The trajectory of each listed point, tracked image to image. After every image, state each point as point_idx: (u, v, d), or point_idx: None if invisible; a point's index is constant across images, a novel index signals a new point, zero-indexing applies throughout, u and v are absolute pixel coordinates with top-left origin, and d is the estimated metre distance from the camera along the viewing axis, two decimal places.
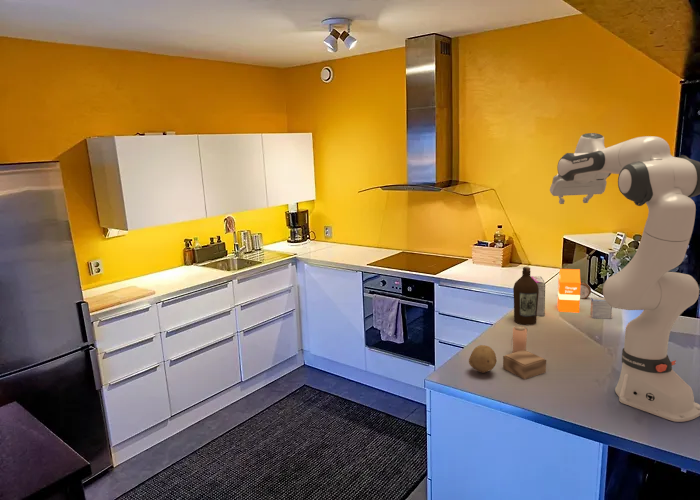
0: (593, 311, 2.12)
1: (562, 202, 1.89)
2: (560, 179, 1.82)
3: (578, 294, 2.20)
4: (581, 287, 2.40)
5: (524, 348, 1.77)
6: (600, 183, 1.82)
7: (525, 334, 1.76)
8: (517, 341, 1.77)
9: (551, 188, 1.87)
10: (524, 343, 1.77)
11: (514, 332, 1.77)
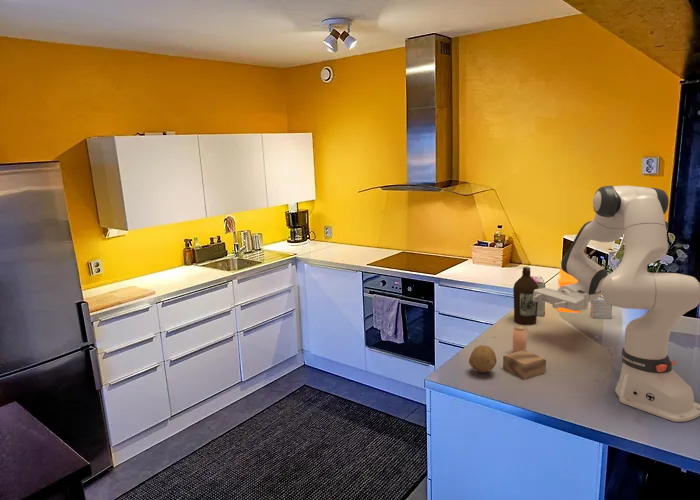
0: (593, 311, 2.12)
1: (535, 296, 1.86)
2: None
3: None
4: None
5: (524, 348, 1.77)
6: (578, 297, 1.79)
7: (525, 334, 1.76)
8: (517, 341, 1.77)
9: None
10: (524, 343, 1.77)
11: (514, 332, 1.77)
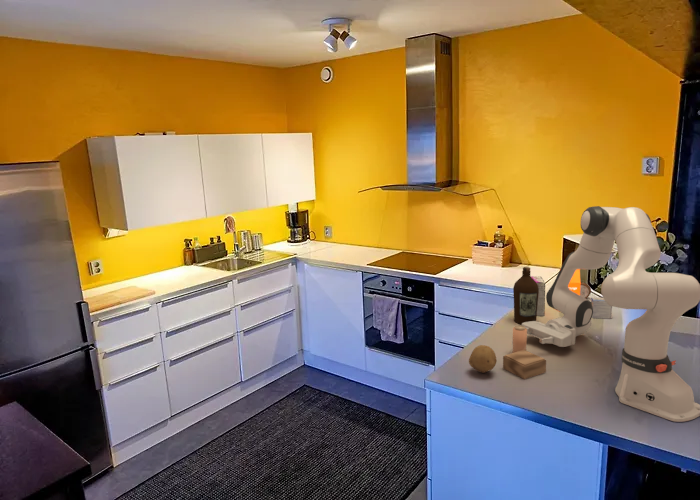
0: (593, 311, 2.12)
1: None
2: None
3: (578, 294, 2.20)
4: (581, 287, 2.40)
5: (524, 348, 1.77)
6: (565, 333, 1.79)
7: (525, 334, 1.76)
8: (517, 341, 1.77)
9: None
10: (524, 343, 1.77)
11: (514, 332, 1.77)
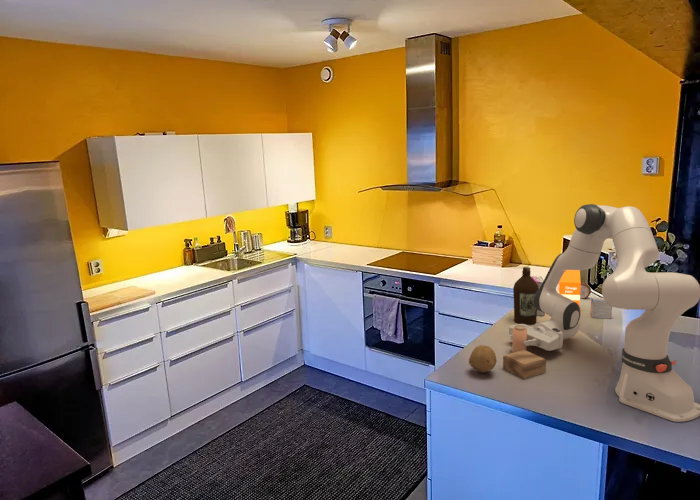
0: (593, 311, 2.12)
1: None
2: None
3: (578, 294, 2.20)
4: (581, 287, 2.40)
5: (524, 348, 1.77)
6: (553, 336, 1.76)
7: (525, 334, 1.76)
8: (517, 341, 1.77)
9: None
10: None
11: (514, 332, 1.77)
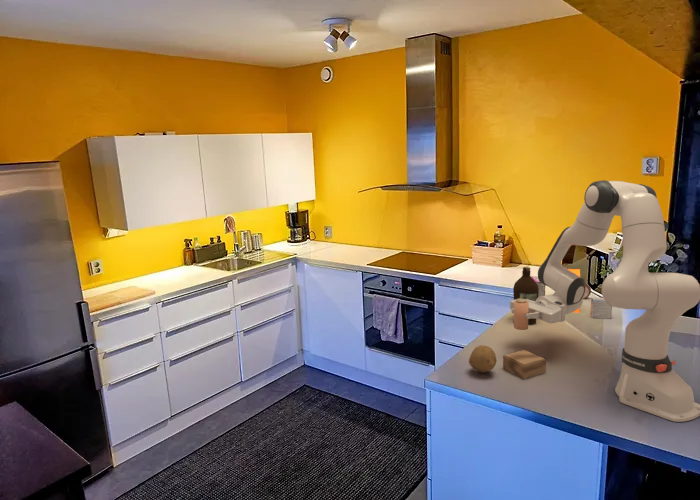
0: (593, 311, 2.12)
1: None
2: None
3: None
4: None
5: (525, 321, 1.73)
6: (555, 309, 1.72)
7: (527, 307, 1.72)
8: (518, 314, 1.73)
9: None
10: None
11: (515, 305, 1.73)
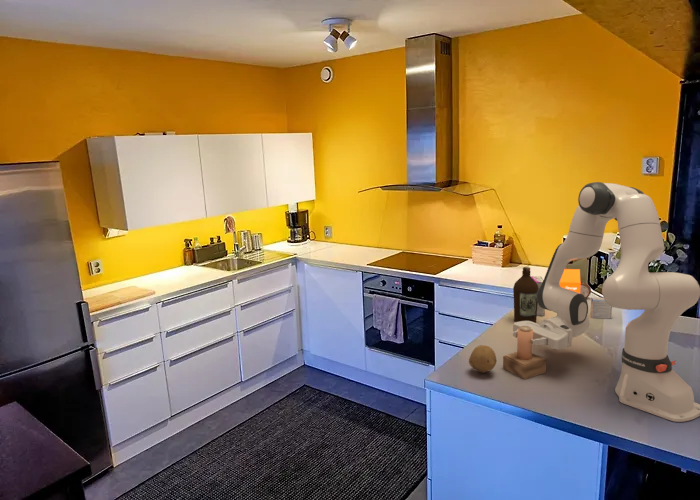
0: (593, 311, 2.12)
1: (516, 332, 1.67)
2: None
3: None
4: (581, 287, 2.40)
5: (529, 350, 1.62)
6: (561, 334, 1.61)
7: (531, 336, 1.61)
8: (522, 343, 1.62)
9: None
10: (530, 345, 1.62)
11: (519, 333, 1.63)
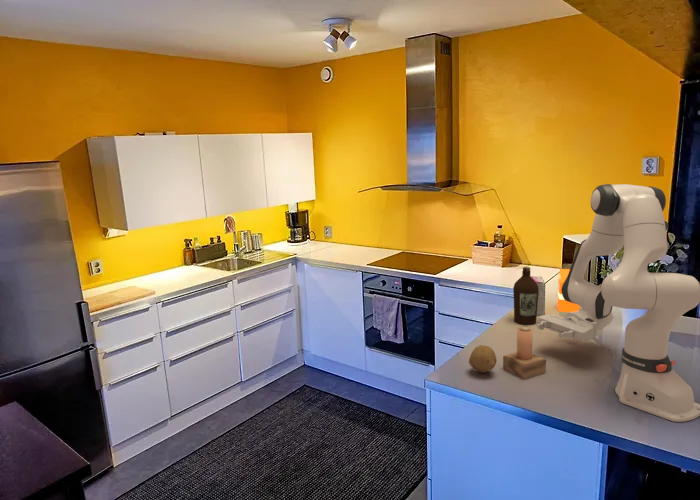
0: None
1: (540, 324, 1.73)
2: None
3: None
4: None
5: (529, 350, 1.62)
6: (586, 326, 1.66)
7: (530, 335, 1.62)
8: (522, 343, 1.62)
9: None
10: (529, 345, 1.62)
11: (518, 333, 1.63)
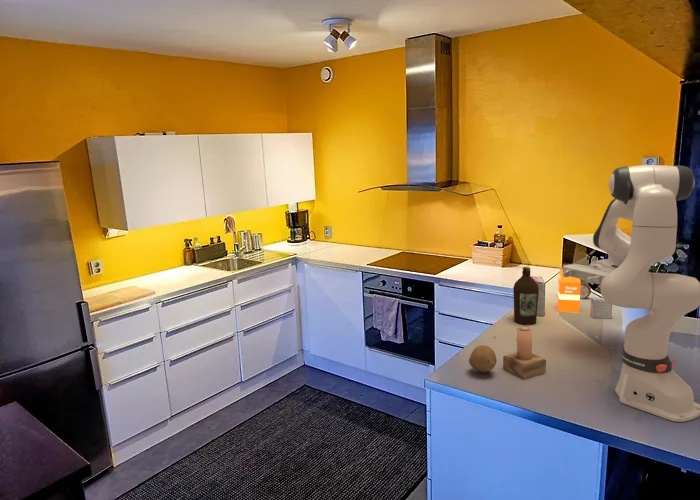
0: (593, 311, 2.12)
1: (566, 272, 1.75)
2: None
3: (578, 294, 2.20)
4: (581, 287, 2.40)
5: (529, 350, 1.62)
6: None
7: (530, 335, 1.62)
8: (521, 343, 1.62)
9: None
10: (529, 345, 1.62)
11: (518, 333, 1.63)
